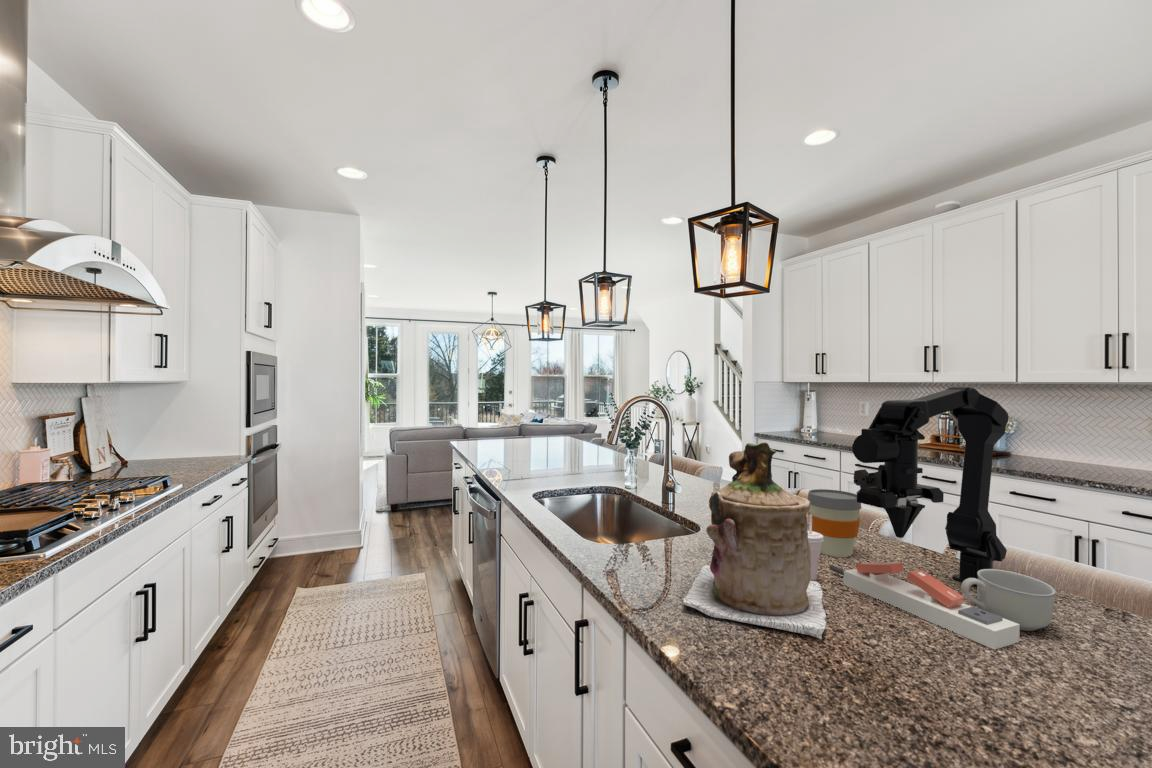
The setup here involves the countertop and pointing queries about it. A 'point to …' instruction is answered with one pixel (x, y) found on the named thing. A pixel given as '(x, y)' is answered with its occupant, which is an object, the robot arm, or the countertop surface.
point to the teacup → (1013, 597)
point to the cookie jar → (759, 552)
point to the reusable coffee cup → (835, 520)
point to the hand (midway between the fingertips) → (899, 537)
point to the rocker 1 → (879, 567)
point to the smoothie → (814, 549)
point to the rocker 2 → (935, 588)
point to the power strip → (934, 608)
